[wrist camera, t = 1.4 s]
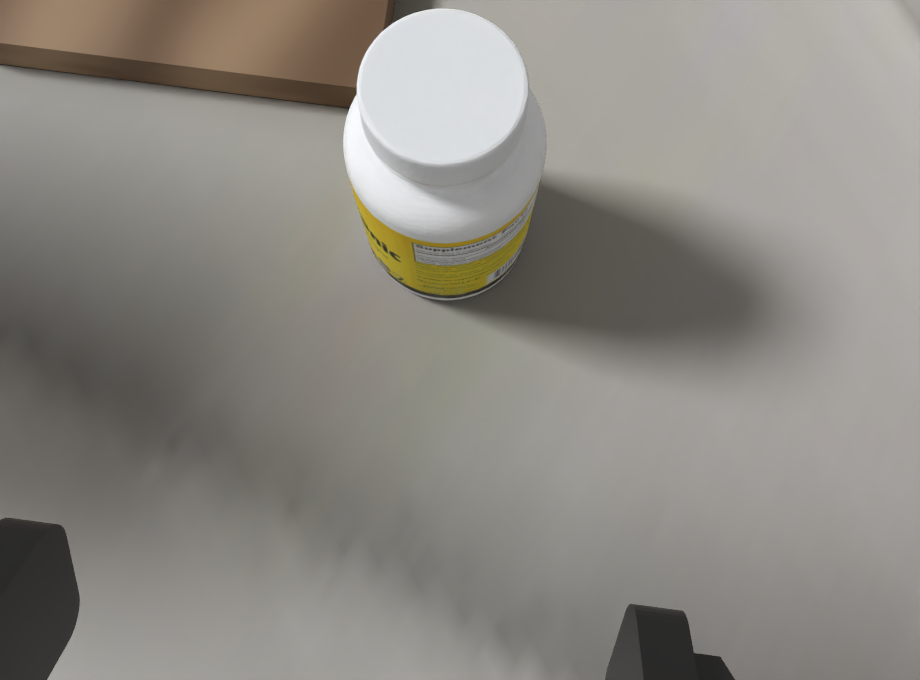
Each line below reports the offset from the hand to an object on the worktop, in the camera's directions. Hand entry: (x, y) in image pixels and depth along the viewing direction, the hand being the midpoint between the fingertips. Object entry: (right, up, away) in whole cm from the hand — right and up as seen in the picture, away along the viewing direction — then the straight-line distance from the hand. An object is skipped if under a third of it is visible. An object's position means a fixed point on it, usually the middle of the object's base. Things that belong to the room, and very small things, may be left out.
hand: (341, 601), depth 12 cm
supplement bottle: (+1, +7, +17) cm, 18 cm away
